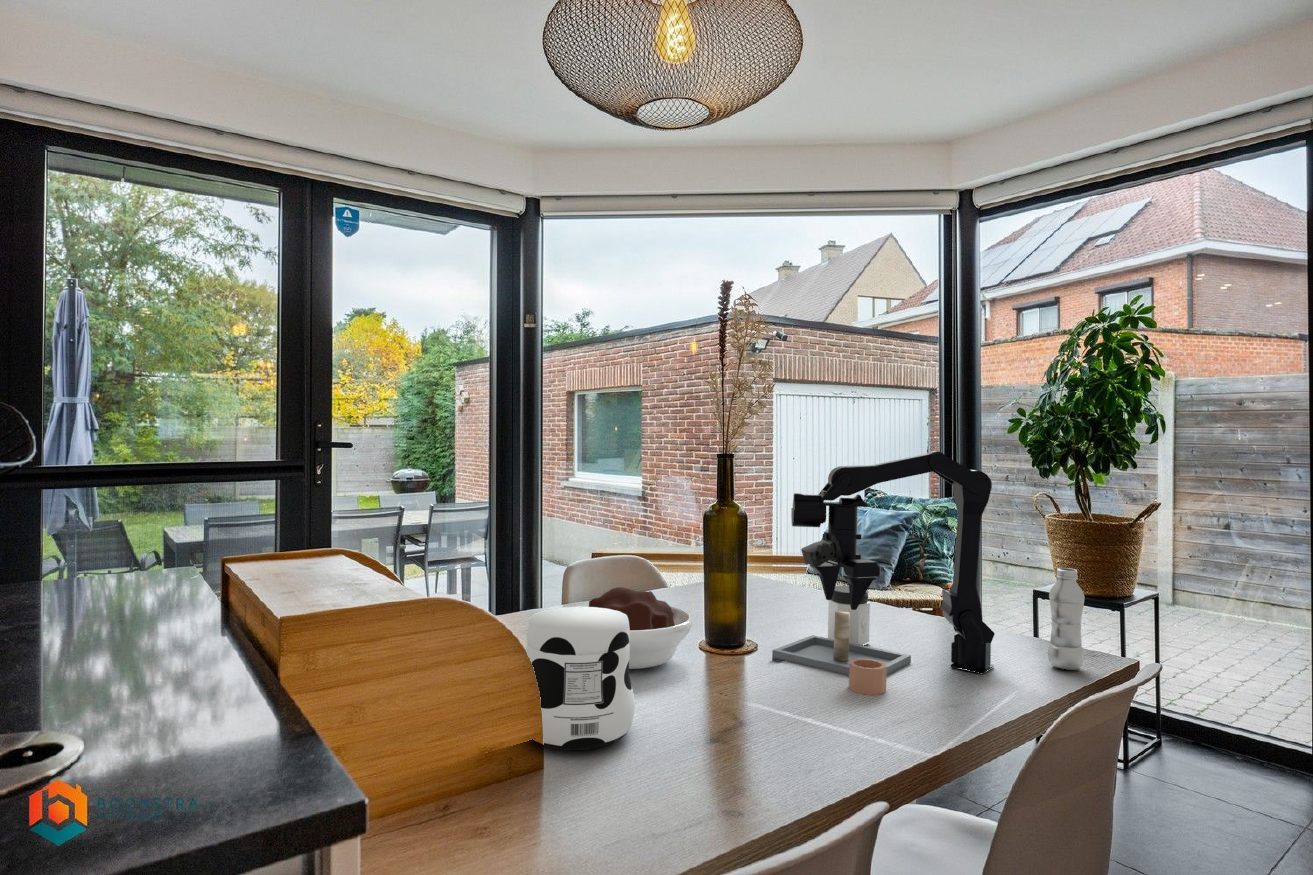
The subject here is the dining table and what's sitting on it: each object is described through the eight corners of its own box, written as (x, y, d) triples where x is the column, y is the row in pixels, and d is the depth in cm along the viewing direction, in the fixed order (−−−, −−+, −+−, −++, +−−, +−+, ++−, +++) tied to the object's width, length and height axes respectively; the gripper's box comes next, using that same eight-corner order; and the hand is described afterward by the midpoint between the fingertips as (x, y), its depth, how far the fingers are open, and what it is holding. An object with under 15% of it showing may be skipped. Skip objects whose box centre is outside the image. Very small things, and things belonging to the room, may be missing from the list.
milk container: (577, 707, 129) (578, 600, 129) (657, 734, 118) (659, 617, 118) (494, 738, 115) (496, 618, 115) (576, 771, 105) (578, 639, 104)
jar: (853, 650, 166) (854, 594, 166) (821, 642, 172) (822, 588, 172) (875, 642, 172) (876, 589, 172) (843, 635, 178) (844, 583, 178)
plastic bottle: (1047, 670, 154) (1048, 570, 154) (1047, 661, 160) (1049, 565, 160) (1084, 675, 151) (1085, 573, 151) (1083, 666, 157) (1085, 568, 157)
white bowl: (658, 640, 171) (659, 573, 171) (714, 673, 149) (715, 595, 149) (550, 653, 161) (551, 580, 161) (592, 689, 138) (593, 605, 138)
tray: (910, 665, 156) (910, 655, 156) (874, 684, 143) (875, 673, 143) (812, 644, 171) (812, 635, 171) (772, 659, 158) (772, 649, 158)
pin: (851, 659, 157) (852, 612, 157) (844, 662, 155) (845, 615, 155) (837, 656, 159) (839, 610, 159) (830, 659, 157) (832, 612, 157)
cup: (891, 691, 140) (892, 663, 140) (876, 699, 135) (876, 671, 135) (858, 683, 144) (859, 656, 144) (842, 691, 139) (843, 663, 139)
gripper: (785, 523, 163) (783, 597, 163) (832, 535, 145) (831, 617, 146) (831, 522, 167) (829, 594, 167) (883, 533, 149) (881, 614, 149)
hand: (840, 604), depth 157 cm, fingers open, 9 cm apart
